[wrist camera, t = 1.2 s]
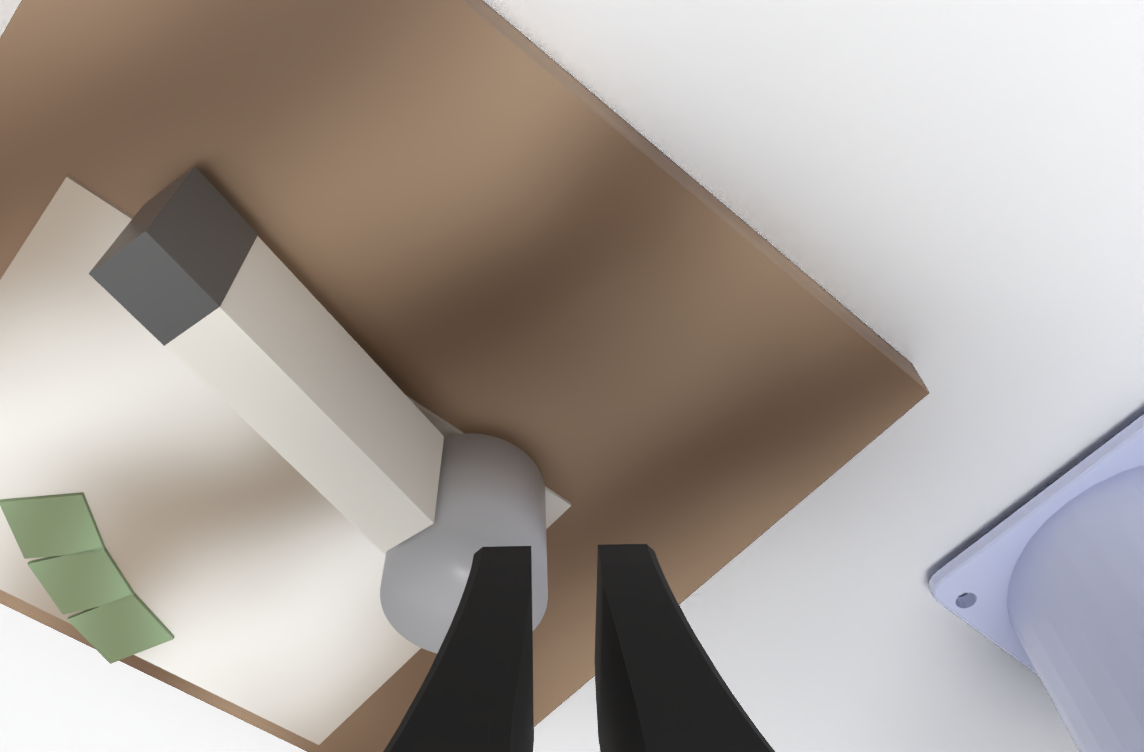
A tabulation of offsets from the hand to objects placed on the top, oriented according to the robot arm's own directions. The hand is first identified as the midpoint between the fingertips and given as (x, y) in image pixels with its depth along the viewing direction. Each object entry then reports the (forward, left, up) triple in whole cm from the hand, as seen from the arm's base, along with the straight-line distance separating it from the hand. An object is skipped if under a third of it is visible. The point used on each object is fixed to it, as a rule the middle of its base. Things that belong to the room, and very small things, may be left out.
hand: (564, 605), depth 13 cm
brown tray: (+1, +5, -10) cm, 11 cm away
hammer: (+2, +4, -8) cm, 9 cm away
